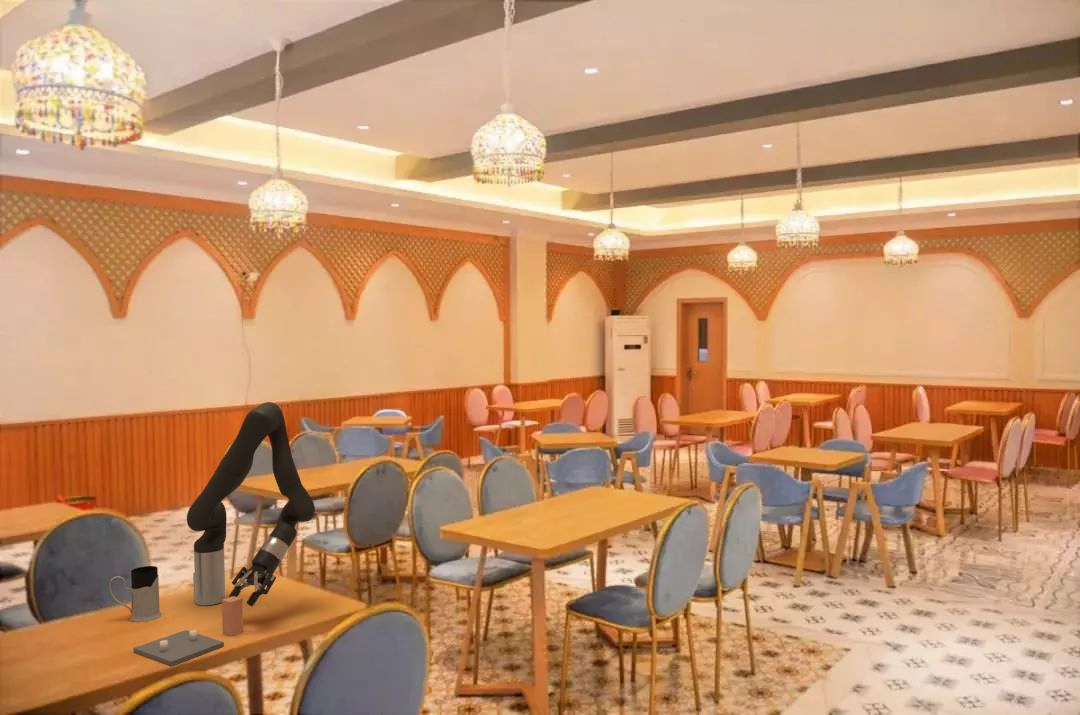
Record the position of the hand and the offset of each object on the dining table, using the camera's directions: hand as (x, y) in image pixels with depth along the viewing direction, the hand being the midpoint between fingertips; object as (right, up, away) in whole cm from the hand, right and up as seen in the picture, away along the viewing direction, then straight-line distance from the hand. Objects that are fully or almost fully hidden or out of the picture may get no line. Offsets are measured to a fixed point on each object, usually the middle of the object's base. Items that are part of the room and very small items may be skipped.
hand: (239, 602), depth 245 cm
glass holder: (-37, -9, +12) cm, 40 cm away
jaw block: (-1, -8, -2) cm, 9 cm away
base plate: (-12, -9, -14) cm, 20 cm away
